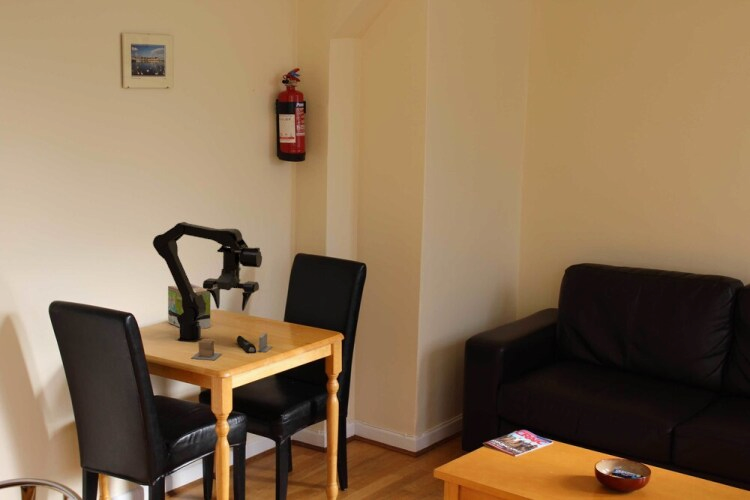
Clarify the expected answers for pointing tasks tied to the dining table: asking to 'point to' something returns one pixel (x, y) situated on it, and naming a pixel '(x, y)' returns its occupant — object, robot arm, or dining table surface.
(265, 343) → the gray angled bracket
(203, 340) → the walnut block
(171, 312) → the tea box
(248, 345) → the electric trimmer
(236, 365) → the dining table surface
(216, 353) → the pad
